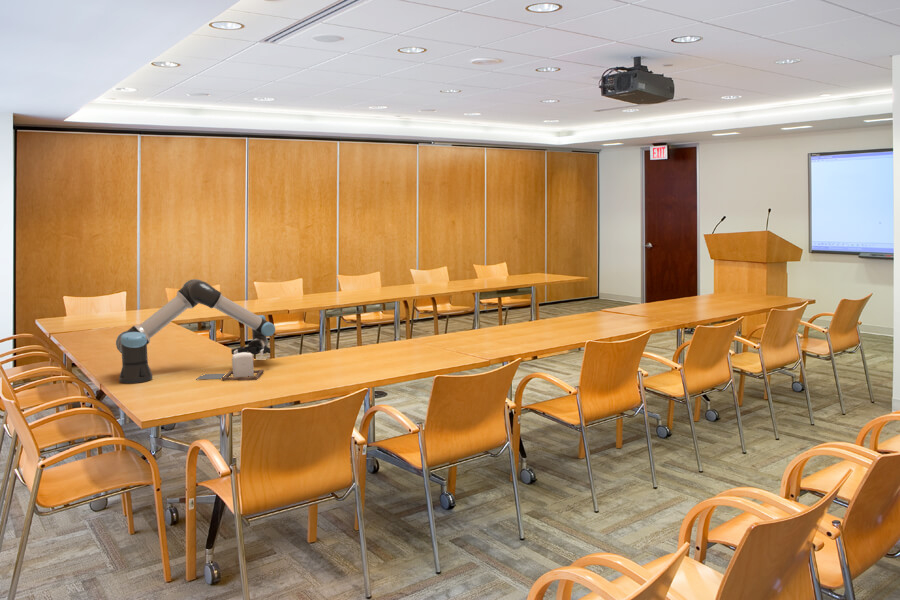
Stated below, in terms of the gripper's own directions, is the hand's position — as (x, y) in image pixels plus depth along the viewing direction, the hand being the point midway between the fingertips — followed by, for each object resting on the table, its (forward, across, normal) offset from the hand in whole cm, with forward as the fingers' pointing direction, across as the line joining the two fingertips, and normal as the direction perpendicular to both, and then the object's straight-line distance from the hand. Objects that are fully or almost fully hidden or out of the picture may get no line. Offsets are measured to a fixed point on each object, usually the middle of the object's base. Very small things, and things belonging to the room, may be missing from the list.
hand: (247, 354), depth 379 cm
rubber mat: (+10, +16, -9) cm, 21 cm away
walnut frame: (+11, 0, -10) cm, 14 cm away
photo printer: (+11, 0, -10) cm, 15 cm away
